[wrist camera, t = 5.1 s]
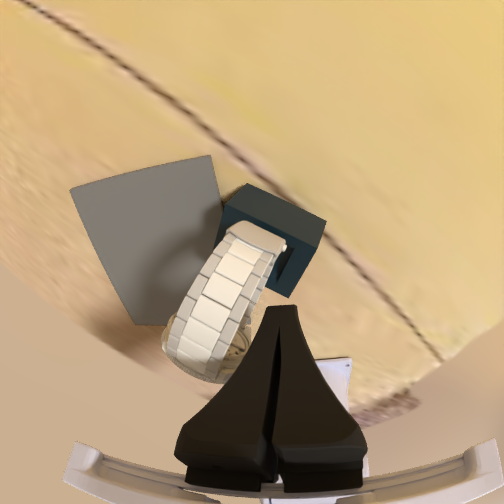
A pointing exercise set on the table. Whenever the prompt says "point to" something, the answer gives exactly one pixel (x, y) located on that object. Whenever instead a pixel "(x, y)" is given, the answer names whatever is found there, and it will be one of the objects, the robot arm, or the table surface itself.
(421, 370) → the table surface
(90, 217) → the mat
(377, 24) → the table surface
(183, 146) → the table surface
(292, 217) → the watch
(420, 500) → the robot arm
